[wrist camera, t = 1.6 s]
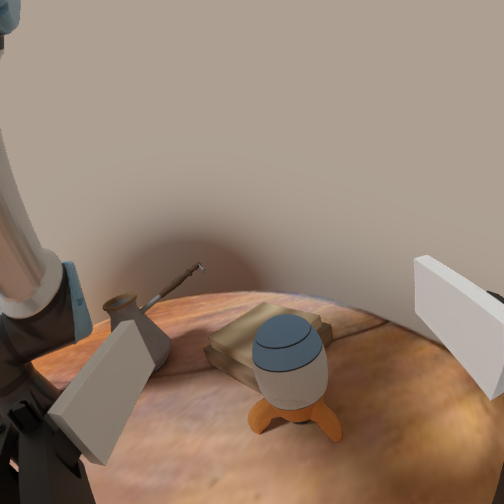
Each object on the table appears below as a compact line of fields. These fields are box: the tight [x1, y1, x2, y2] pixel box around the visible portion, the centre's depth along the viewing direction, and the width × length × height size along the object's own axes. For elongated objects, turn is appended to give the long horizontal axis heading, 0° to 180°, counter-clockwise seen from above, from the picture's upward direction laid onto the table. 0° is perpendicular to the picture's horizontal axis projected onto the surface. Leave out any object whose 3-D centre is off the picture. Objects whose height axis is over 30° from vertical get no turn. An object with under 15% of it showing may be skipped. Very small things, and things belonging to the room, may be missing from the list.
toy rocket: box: [248, 314, 343, 442], centre depth 25 cm, size 10×11×15 cm
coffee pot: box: [103, 262, 206, 372], centre depth 45 cm, size 21×12×15 cm, turn 104°
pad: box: [204, 302, 333, 394], centre depth 41 cm, size 14×14×5 cm
